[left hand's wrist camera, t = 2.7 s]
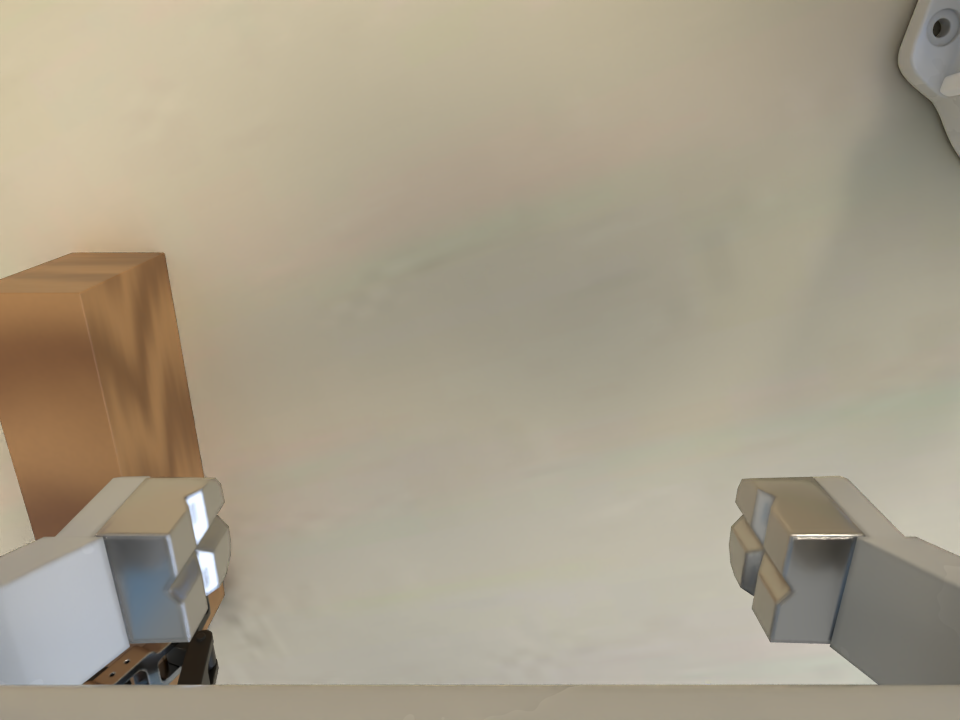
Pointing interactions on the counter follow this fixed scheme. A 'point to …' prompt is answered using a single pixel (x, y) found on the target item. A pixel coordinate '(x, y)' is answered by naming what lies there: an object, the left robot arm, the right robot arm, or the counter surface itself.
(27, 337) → the bar
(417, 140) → the counter surface
